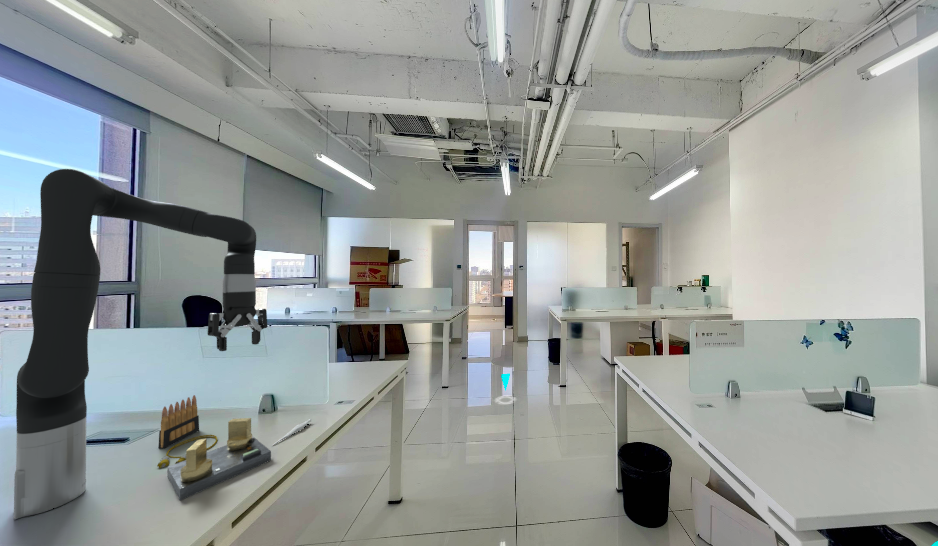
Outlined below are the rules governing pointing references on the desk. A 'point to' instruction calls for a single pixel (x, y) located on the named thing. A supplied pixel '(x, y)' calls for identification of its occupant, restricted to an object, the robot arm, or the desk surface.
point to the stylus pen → (294, 430)
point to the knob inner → (196, 462)
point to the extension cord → (165, 460)
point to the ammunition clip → (178, 422)
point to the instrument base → (219, 468)
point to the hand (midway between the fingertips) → (239, 347)
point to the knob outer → (239, 434)
